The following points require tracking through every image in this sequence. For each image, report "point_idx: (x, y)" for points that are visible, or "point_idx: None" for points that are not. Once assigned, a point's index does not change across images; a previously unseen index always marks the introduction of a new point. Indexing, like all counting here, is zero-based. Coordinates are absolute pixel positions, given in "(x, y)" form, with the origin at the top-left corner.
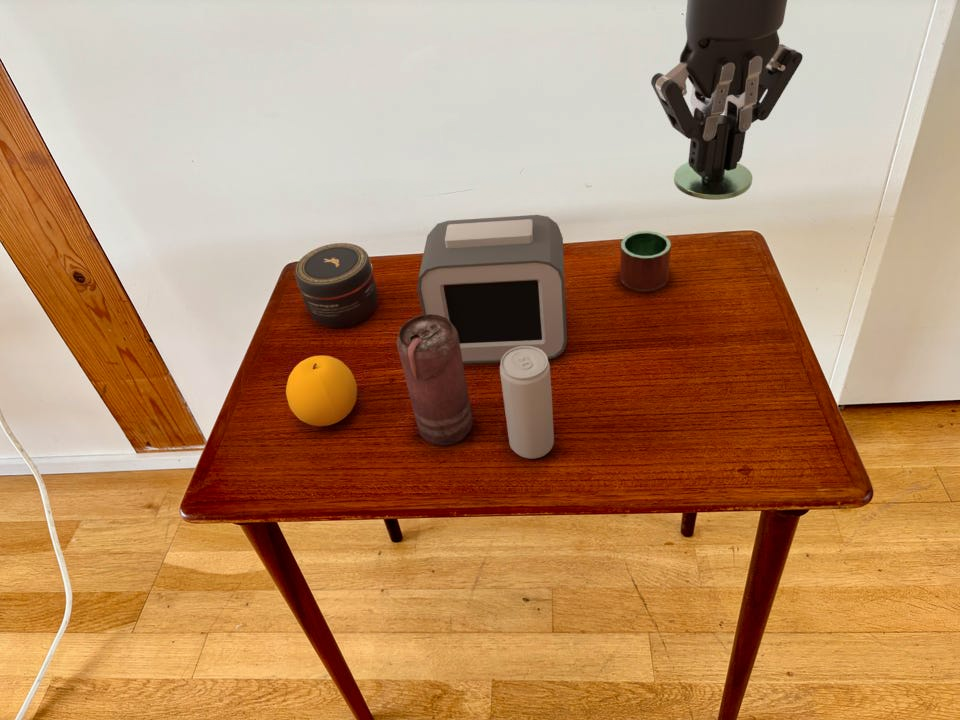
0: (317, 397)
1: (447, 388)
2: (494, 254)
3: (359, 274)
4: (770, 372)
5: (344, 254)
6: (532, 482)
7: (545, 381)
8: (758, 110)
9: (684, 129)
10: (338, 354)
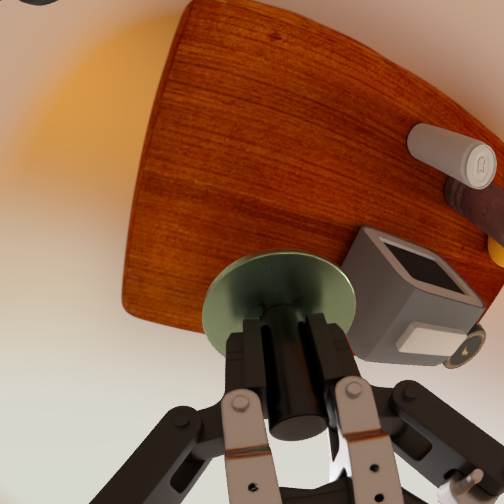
0: None
1: (498, 188)
2: (446, 312)
3: None
4: (185, 137)
5: (456, 357)
6: (432, 106)
7: (467, 142)
8: (198, 434)
9: (432, 398)
10: (471, 283)
